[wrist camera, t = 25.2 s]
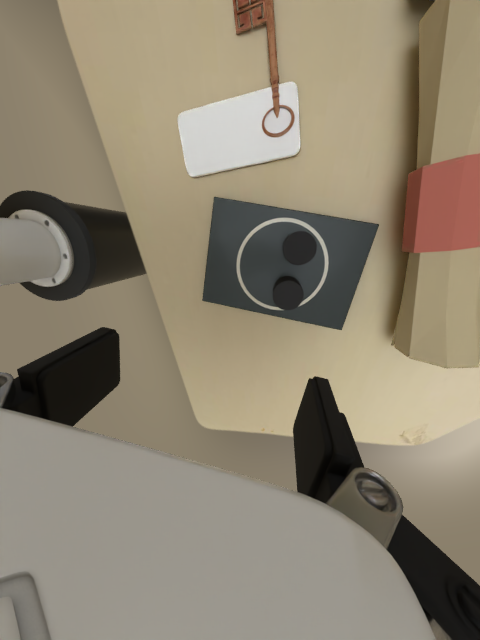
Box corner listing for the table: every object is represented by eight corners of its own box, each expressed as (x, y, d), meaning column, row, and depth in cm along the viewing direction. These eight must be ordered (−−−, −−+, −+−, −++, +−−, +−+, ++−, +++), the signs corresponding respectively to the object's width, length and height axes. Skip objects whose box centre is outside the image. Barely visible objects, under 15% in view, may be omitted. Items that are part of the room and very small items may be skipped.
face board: (204, 299, 38) (201, 301, 37) (215, 197, 32) (213, 196, 31) (339, 327, 36) (341, 330, 35) (376, 224, 30) (379, 224, 29)
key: (232, -12, 25) (249, 146, 30) (230, -20, 25) (247, 143, 29) (286, -37, 24) (295, 133, 28) (285, -47, 23) (295, 130, 27)
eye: (279, 259, 33) (279, 262, 29) (286, 229, 31) (287, 228, 28) (307, 264, 32) (311, 268, 29) (316, 234, 31) (321, 234, 27)
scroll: (369, 343, 34) (441, 378, 24) (386, 37, 23) (524, -109, 14) (429, 329, 36) (516, 356, 26) (469, 40, 25) (639, -86, 16)
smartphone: (176, 113, 29) (297, 78, 26) (178, 116, 30) (296, 82, 27) (187, 178, 31) (300, 153, 28) (189, 179, 32) (300, 155, 29)
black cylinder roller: (270, 299, 35) (269, 307, 31) (276, 273, 33) (276, 277, 30) (297, 305, 34) (299, 313, 31) (304, 278, 33) (307, 284, 29)
